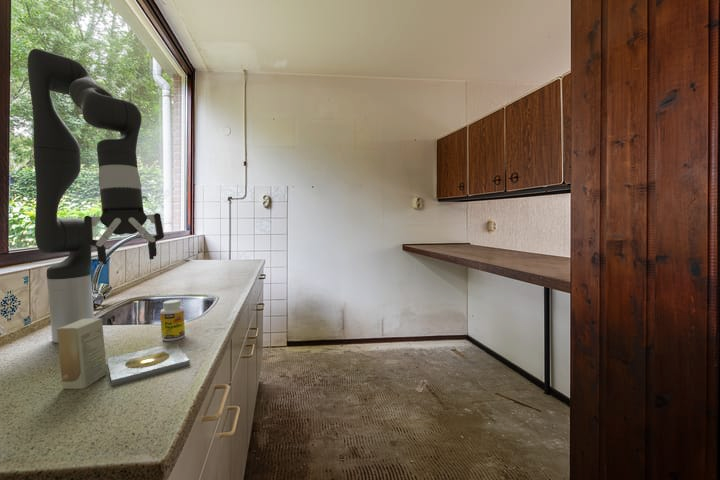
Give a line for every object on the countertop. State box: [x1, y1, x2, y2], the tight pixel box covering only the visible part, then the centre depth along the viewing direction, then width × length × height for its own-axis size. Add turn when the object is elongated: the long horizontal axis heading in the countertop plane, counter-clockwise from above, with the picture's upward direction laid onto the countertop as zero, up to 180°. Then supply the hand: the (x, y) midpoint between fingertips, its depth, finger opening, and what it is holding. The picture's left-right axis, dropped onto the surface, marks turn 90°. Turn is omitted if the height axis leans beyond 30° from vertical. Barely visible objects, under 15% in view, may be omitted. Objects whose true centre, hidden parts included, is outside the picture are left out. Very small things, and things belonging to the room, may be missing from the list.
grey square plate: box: [106, 342, 191, 387], centre depth 76 cm, size 14×14×1 cm
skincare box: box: [57, 318, 108, 390], centre depth 68 cm, size 6×4×12 cm
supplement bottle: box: [160, 299, 186, 342], centre depth 92 cm, size 6×6×10 cm
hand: (129, 261), depth 75 cm, fingers open, 8 cm apart
